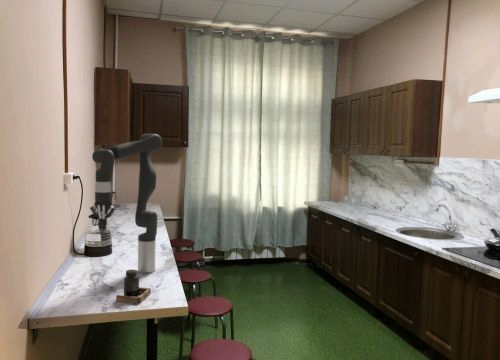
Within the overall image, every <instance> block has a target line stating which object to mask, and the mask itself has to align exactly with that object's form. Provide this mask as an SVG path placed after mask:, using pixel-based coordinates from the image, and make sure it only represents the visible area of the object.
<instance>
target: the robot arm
mask: <svg viewBox="0 0 500 360" xmlns="http://www.w3.org/2000/svg"><path fill="white" fill-rule="evenodd" d="M162 146H163V139H162V136H160V135H159V134H157V133H144V134H141V136H140V137H139V140H137V141H136V140H135V141H129V142H124V143H120V144H119V143H118V144H117V145H113V146H109V147H102V148H98V149H95V150H94V152H93V153H92V157H91V158H92V161H93V162H94V163H95V164H98V165H100V167H99V168H98V169H96V171H95V184H94V204H93V206H91V207H90V208H89V209H90V211H91V212H92V214H93V215H94V216H95V218H98V219H99V226H100V227H106V225H108V222H107V221H108V220H107V219H108V218H111V217H112V215H114V213H115V212H116V211H117V207H116V206H114V205H113V203H112V189H113V188H112V171H113V168H114V163H115V160H116V161H119V160H122V159H125V158H129V157H131V156H135V155H137V154H139V174H138V190H137V191H138V193H137V202H136V203H137V204H136V209H135V210H136V211H135V214H134V215H135V219H134V222H135V225H136V226H137V227H139V228H144V229H145V228H146V229H145V232H143V233H140V234H139V235H138V236H137V241H138V242H137V273H140V274H141V273H142V274H149V273H153V272H155V271H156V244H157V243H156V241H157V240H156V238H157V233H158V232H157V231H158V214H157V212H155V211H151V210H147V205H148V201H149V200H150V197H151V196H152V195H153V193H154V192H155V190H156V188H157V173H156V169H155V167H154V165H153V162H152V152H155V151H158V150H160V149H161V147H162Z"/></svg>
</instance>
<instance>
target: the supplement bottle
mask: <svg viewBox="0 0 500 360" xmlns="http://www.w3.org/2000/svg"><path fill="white" fill-rule="evenodd" d="M139 287H140V277H139V276H138V269H127V270H125V277H124V278H123V296H133V297H139V296H140V293H139Z"/></svg>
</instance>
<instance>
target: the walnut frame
mask: <svg viewBox="0 0 500 360" xmlns="http://www.w3.org/2000/svg"><path fill="white" fill-rule="evenodd" d="M151 293H152V289H151V288H150V287H142V286H141V287H140V286H139V296H138V297H133V296H124V295H122V294H121V295H120V294H119V295H118V294H116V296H115V302H119V303H130V304H139V305H140V304H142V302H143V301H144V300H145V299H146V298H148V297H149V296H150V295H151Z"/></svg>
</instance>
